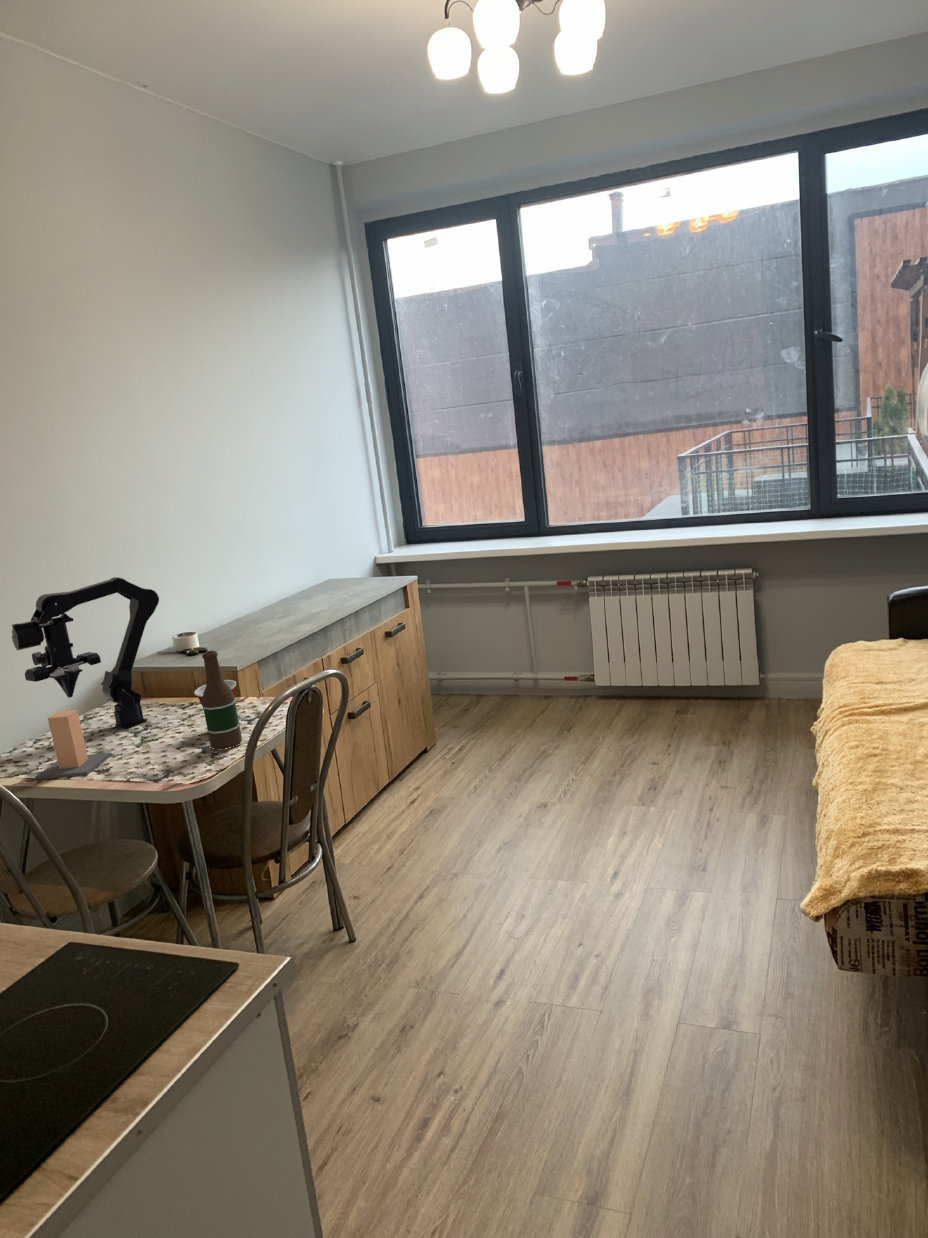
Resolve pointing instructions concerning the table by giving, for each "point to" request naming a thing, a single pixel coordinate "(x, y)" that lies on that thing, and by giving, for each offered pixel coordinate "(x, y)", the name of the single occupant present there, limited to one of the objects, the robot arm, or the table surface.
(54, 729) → the block
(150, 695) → the table surface
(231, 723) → the beer bottle
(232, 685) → the plastic cup
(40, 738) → the table surface
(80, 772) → the mat
